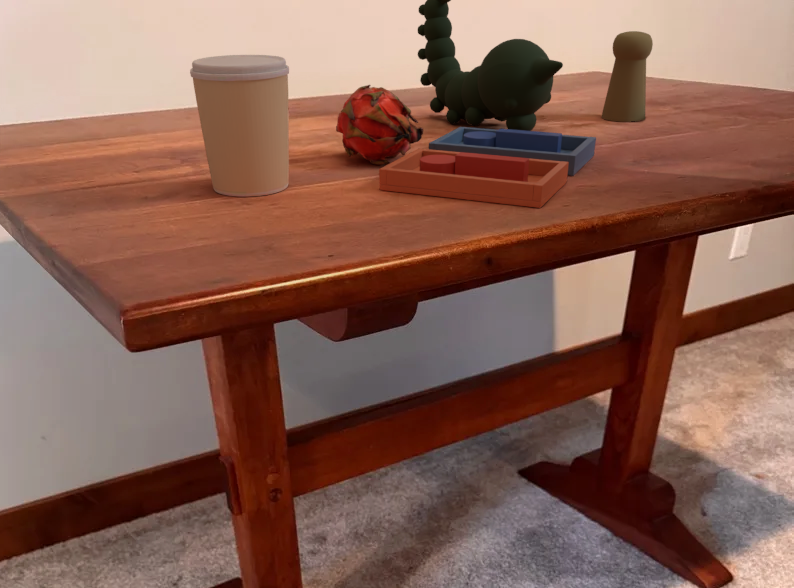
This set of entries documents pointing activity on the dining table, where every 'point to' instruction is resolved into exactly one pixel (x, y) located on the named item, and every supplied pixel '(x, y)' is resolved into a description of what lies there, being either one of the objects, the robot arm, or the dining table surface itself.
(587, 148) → the blue tray
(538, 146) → the blue spoon
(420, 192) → the red tray
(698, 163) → the dining table surface
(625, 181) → the dining table surface
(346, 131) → the dragon fruit
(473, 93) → the toy figurine
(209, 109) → the coffee cup
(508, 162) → the red spoon
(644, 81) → the olive knobbed cone
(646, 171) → the dining table surface
